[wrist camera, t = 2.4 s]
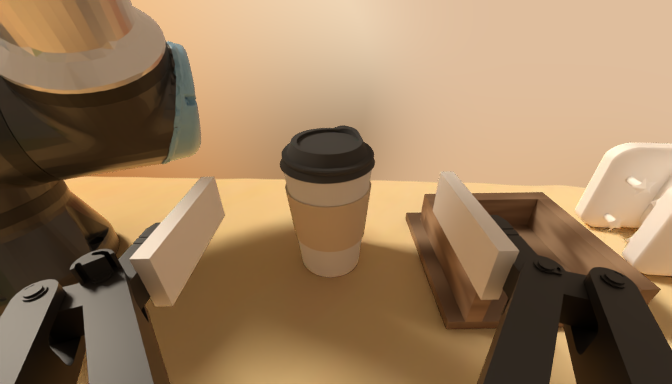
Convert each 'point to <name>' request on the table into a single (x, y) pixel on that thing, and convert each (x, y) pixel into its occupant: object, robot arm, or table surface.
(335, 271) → the coffee cup
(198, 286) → the table surface
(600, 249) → the brown wooden tray
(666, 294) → the table surface
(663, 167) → the cable organizer
